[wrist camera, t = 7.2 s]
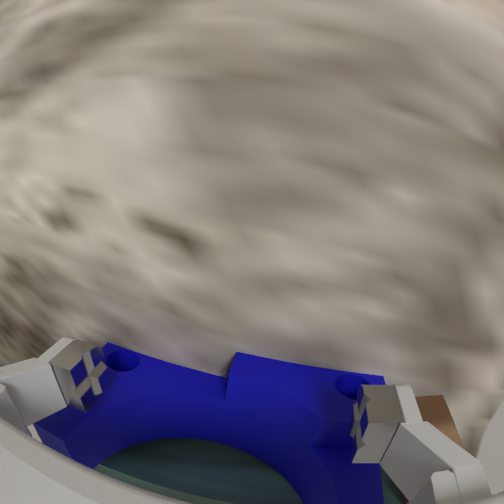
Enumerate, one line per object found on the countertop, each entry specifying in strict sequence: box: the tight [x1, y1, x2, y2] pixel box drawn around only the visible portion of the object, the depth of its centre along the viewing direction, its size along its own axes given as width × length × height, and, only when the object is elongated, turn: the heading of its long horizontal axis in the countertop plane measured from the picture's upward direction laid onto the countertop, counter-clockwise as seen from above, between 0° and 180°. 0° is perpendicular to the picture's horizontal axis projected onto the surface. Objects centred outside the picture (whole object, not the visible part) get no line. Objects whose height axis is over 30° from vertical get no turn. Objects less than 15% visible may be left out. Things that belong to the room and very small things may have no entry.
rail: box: [94, 396, 464, 504], centre depth 11 cm, size 5×18×4 cm, turn 89°
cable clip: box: [33, 343, 385, 504], centre depth 10 cm, size 12×4×6 cm, turn 82°
